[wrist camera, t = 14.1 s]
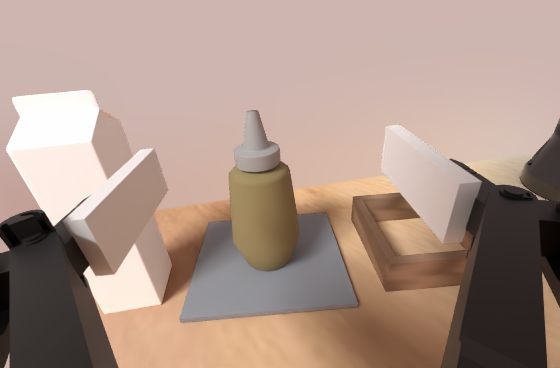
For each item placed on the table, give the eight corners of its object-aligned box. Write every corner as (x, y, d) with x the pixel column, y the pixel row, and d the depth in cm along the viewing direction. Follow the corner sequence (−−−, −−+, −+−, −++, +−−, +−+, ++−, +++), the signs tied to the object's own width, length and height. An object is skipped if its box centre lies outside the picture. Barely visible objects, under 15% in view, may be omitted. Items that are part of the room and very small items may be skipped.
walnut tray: (437, 211, 40) (443, 188, 38) (505, 280, 29) (519, 252, 27) (351, 219, 40) (353, 196, 38) (385, 291, 29) (390, 264, 27)
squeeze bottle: (242, 234, 38) (220, 104, 29) (300, 233, 37) (295, 100, 28) (230, 280, 31) (196, 126, 22) (301, 280, 30) (295, 121, 21)
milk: (162, 305, 29) (73, 97, 18) (103, 315, 29) (-25, 105, 18) (172, 264, 34) (108, 83, 24) (123, 272, 34) (34, 90, 23)
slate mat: (326, 215, 41) (326, 212, 41) (357, 306, 27) (358, 303, 27) (209, 225, 41) (208, 222, 41) (180, 322, 27) (179, 319, 27)
